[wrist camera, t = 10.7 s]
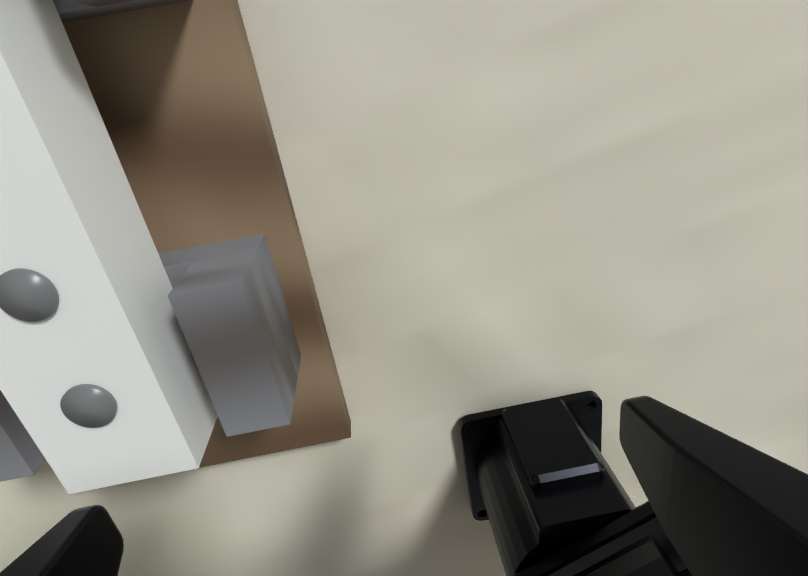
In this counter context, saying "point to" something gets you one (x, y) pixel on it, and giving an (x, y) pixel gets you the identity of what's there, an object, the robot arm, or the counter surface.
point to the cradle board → (209, 221)
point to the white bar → (83, 280)
